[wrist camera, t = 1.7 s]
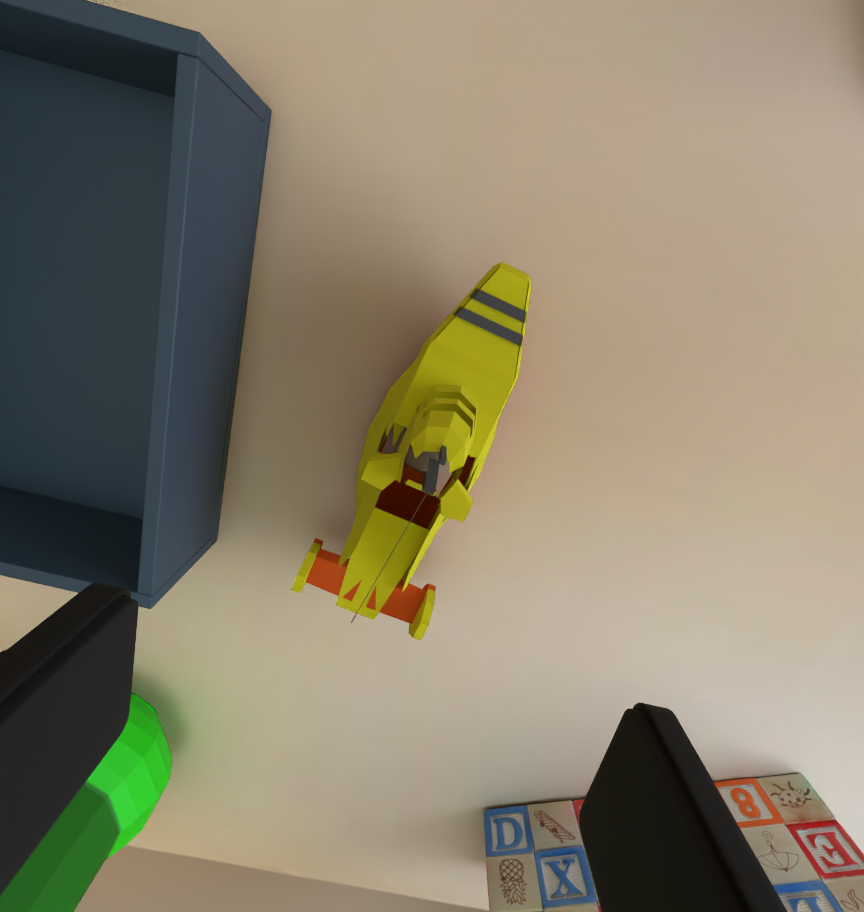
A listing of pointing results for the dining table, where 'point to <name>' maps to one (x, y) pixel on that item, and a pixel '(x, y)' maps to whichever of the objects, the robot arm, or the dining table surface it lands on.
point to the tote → (119, 291)
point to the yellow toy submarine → (433, 430)
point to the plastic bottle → (96, 819)
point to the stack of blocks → (754, 809)
